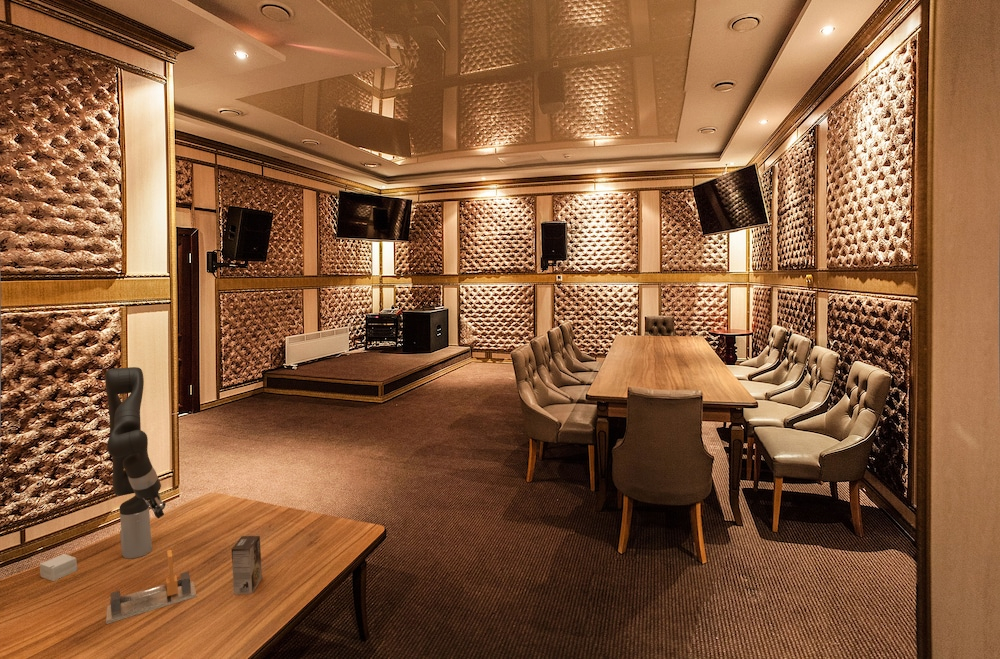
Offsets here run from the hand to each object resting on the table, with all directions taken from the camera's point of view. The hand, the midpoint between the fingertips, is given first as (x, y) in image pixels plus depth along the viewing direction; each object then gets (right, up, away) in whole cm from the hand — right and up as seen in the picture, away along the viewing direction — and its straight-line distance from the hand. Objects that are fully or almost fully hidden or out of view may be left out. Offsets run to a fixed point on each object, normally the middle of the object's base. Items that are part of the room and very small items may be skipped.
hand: (160, 515), depth 184 cm
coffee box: (+32, -23, -3) cm, 40 cm away
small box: (-39, -23, +5) cm, 46 cm away
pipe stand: (+6, -24, -12) cm, 28 cm away
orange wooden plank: (+10, -22, -9) cm, 26 cm away
